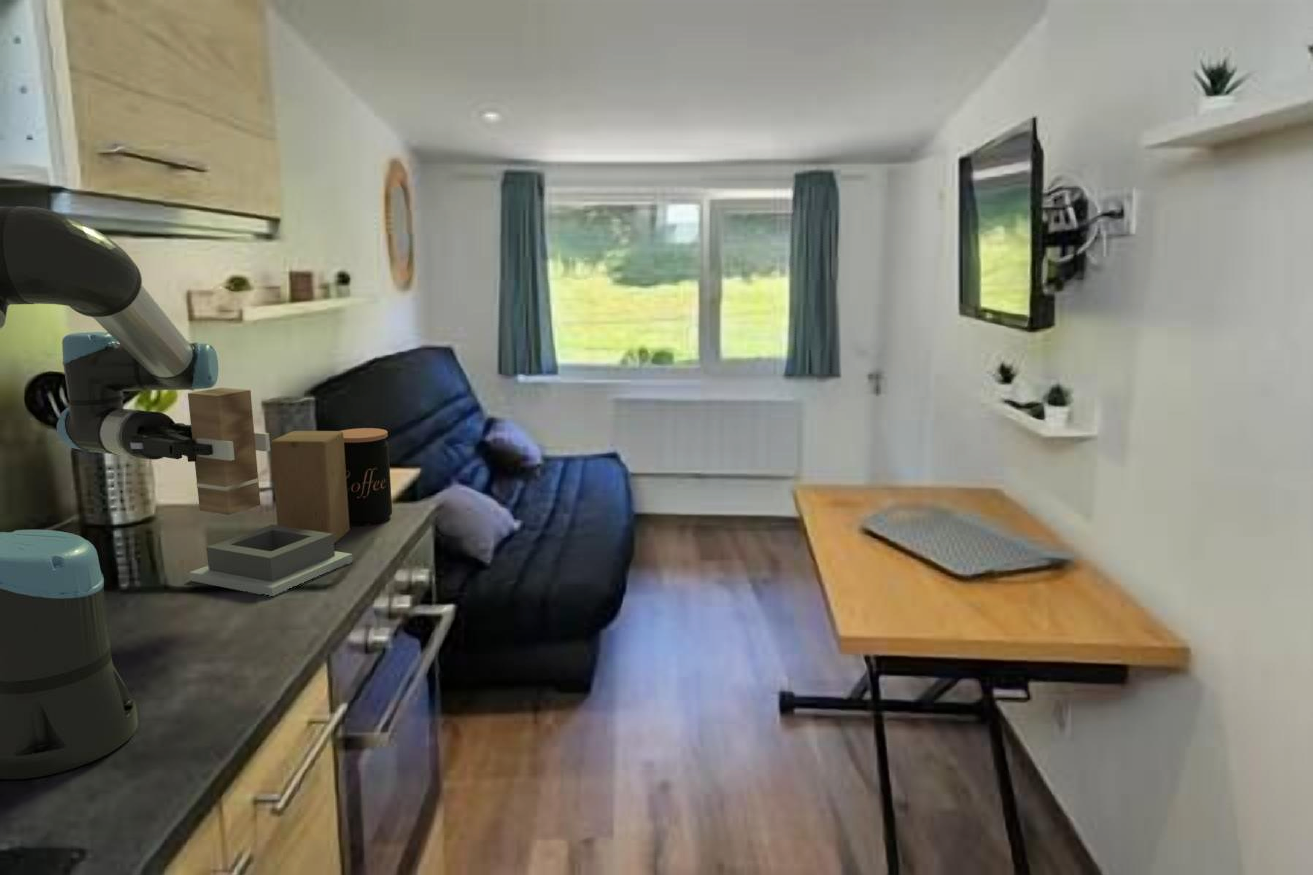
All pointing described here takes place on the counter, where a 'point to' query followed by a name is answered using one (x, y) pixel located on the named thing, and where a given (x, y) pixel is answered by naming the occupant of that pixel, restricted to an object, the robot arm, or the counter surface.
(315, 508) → the wooden block
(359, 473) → the coffee jar
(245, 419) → the walnut peg
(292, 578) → the socket board
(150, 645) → the counter surface
